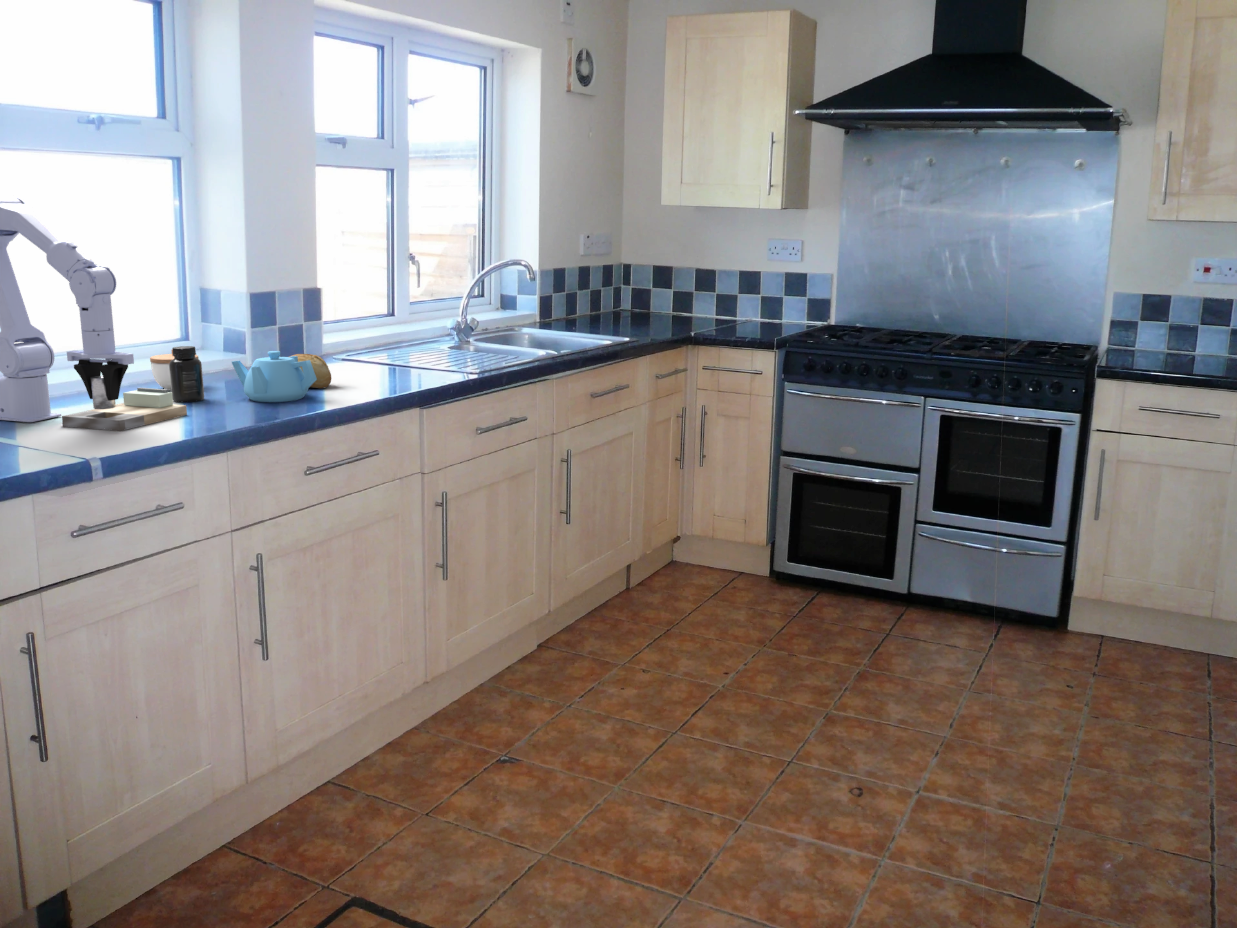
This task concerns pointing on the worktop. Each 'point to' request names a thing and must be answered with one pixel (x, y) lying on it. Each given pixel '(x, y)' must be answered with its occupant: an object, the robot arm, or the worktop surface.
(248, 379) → the teapot
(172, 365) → the supplement bottle
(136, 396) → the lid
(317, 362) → the bread roll
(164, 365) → the lidded jar
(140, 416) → the housing
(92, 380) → the peg
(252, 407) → the worktop surface
